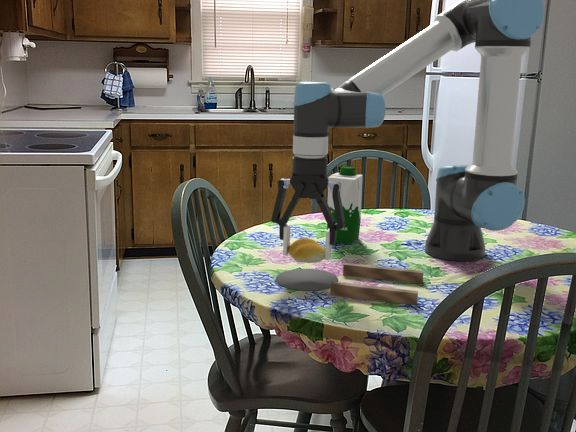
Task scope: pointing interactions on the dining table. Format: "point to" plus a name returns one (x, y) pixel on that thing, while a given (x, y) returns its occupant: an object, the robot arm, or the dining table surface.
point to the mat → (306, 279)
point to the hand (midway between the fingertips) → (307, 256)
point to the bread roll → (306, 251)
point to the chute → (375, 291)
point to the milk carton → (347, 203)
